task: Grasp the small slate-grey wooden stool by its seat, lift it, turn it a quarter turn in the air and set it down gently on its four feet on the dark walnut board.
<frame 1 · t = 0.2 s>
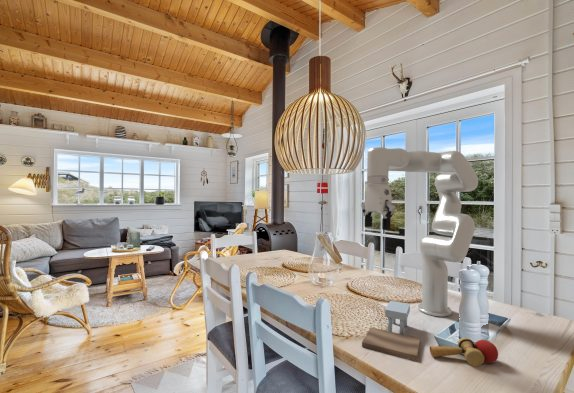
hand: (376, 228, 107), 36 cm above the table, tool pointing down, fingers open, 9 cm apart
kendama: (463, 360, 86), on the table
walnut board: (391, 344, 94), on the table
stool: (397, 328, 105), on the table
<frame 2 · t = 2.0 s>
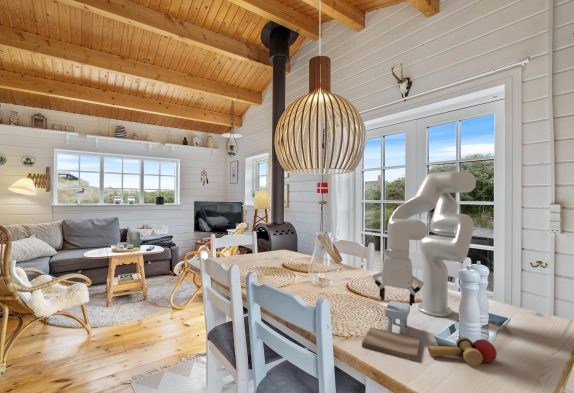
hand: (396, 302, 105), 10 cm above the table, tool pointing down, fingers open, 9 cm apart
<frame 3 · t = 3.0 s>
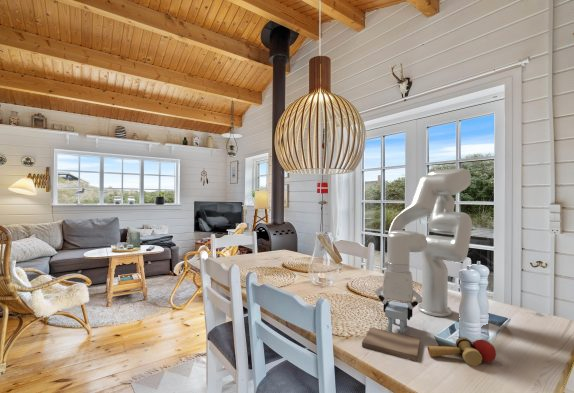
hand: (397, 316, 105), 5 cm above the table, tool pointing down, fingers closed on stool, 7 cm apart
stool: (397, 328, 105), on the table, touching gripper
everything else where it was.
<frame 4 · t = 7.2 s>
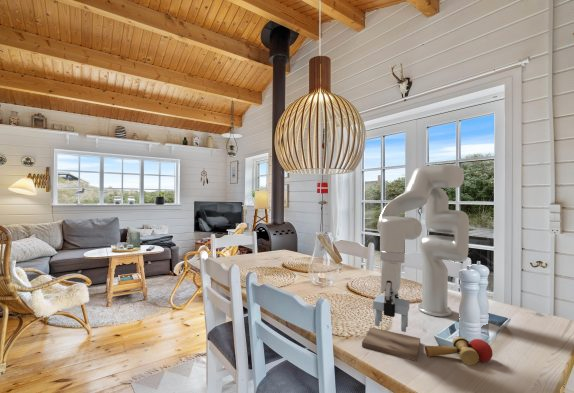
hand: (391, 311, 94), 11 cm above the table, tool pointing down, fingers closed on stool, 7 cm apart
stool: (391, 325, 94), point 6 cm above the table, touching gripper
when the fingers open (7 cm above the table, at t = 8.5 s): stool stays where it is, resting on walnut board.
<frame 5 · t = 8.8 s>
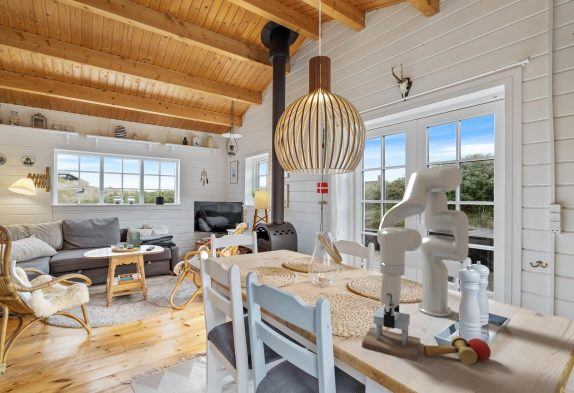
hand: (391, 321, 94), 8 cm above the table, tool pointing down, fingers open, 9 cm apart
stool: (391, 339, 94), point 1 cm above the table, touching walnut board
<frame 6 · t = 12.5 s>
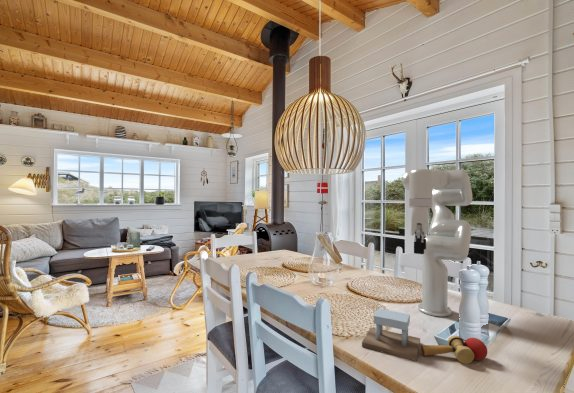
hand: (420, 251, 104), 28 cm above the table, tool pointing down, fingers open, 9 cm apart
at the end: stool 0.4 cm off-centre on the walnut board, point 1.5 cm above the walnut board's base; stool tilted 0°; the gripper is holding nothing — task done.
